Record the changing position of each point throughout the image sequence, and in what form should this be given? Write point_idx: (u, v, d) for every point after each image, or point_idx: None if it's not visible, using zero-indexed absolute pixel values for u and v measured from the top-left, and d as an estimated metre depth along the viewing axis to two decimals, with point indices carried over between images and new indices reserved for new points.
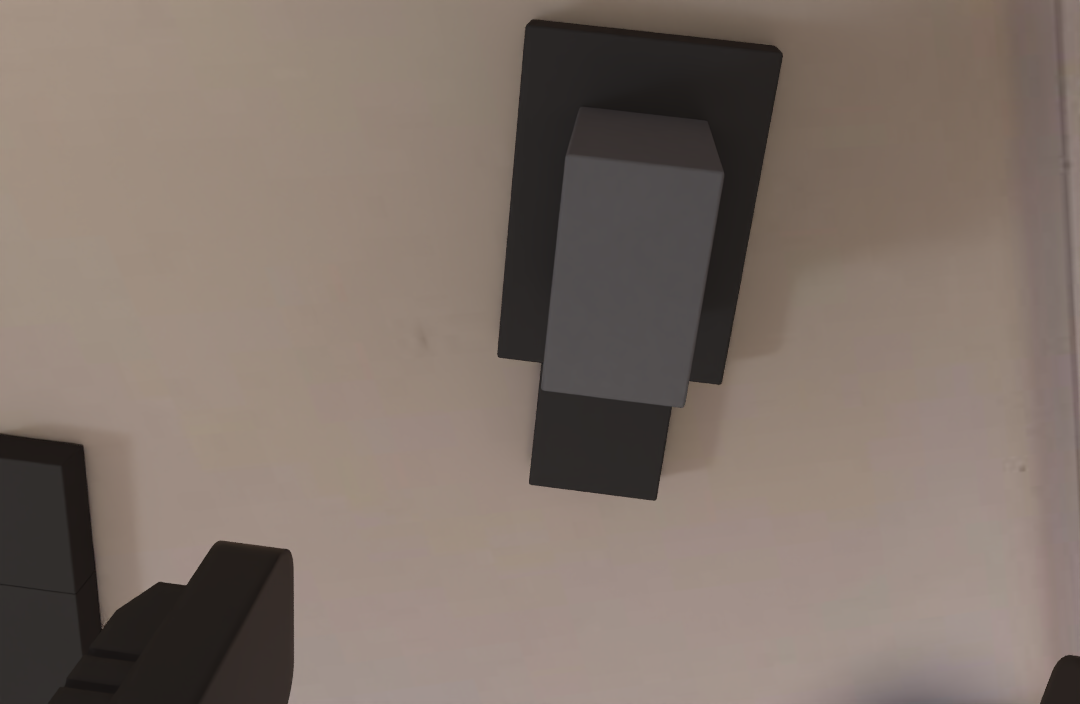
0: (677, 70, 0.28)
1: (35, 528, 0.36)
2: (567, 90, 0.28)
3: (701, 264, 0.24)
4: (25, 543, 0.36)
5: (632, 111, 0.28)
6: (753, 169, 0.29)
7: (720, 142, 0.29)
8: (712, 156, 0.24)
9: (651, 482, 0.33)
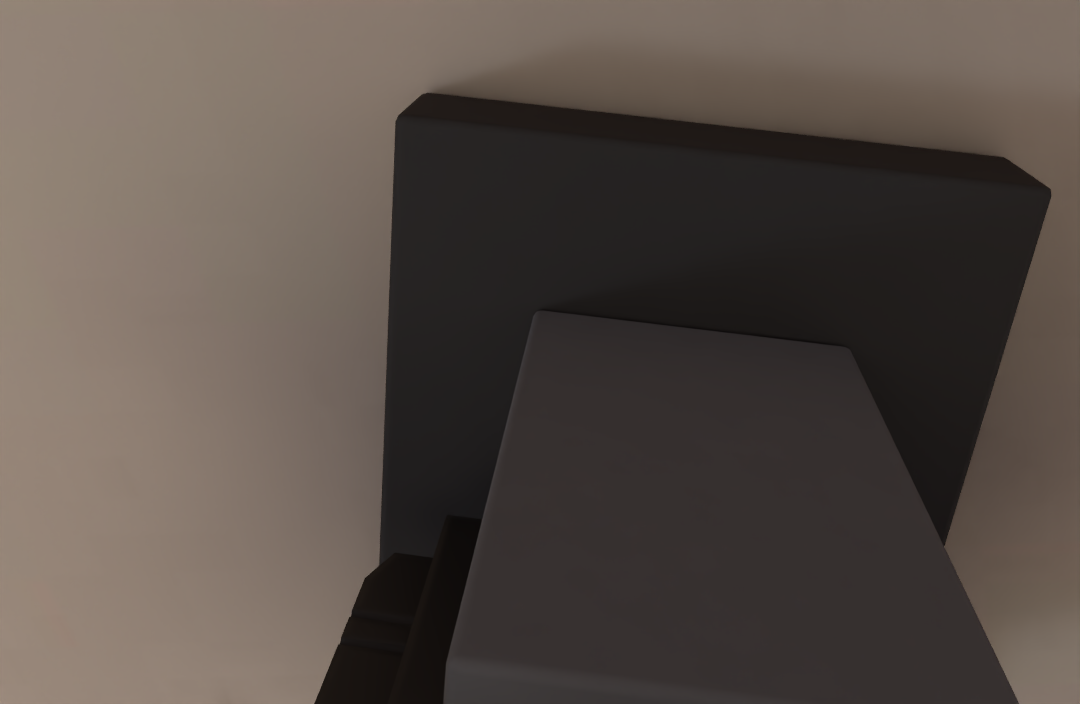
0: (778, 228, 0.11)
1: None
2: (503, 272, 0.12)
3: None
4: None
5: (664, 322, 0.12)
6: (954, 454, 0.12)
7: (878, 395, 0.12)
8: (943, 587, 0.07)
9: None
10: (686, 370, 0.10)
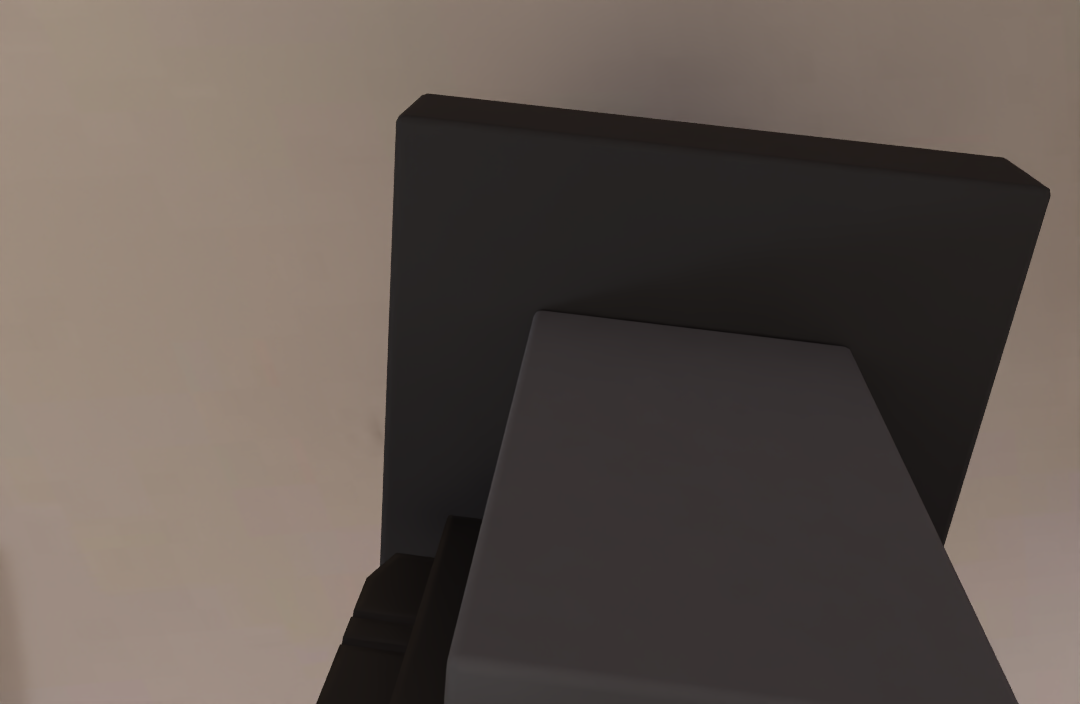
0: (778, 229, 0.11)
1: None
2: (504, 272, 0.12)
3: None
4: None
5: (664, 322, 0.12)
6: (954, 454, 0.12)
7: (877, 395, 0.12)
8: (942, 585, 0.07)
9: None
10: (686, 370, 0.10)
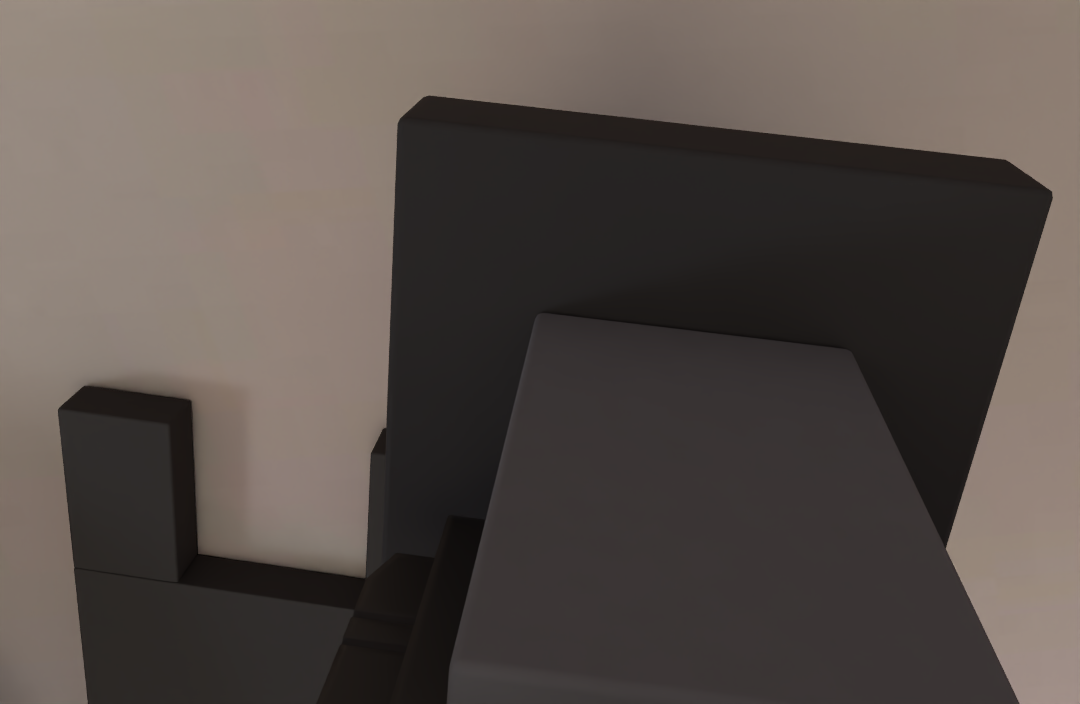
0: (780, 231, 0.11)
1: None
2: (505, 274, 0.12)
3: None
4: None
5: (665, 324, 0.12)
6: (955, 456, 0.12)
7: (879, 397, 0.12)
8: (945, 590, 0.07)
9: None
10: (688, 372, 0.10)
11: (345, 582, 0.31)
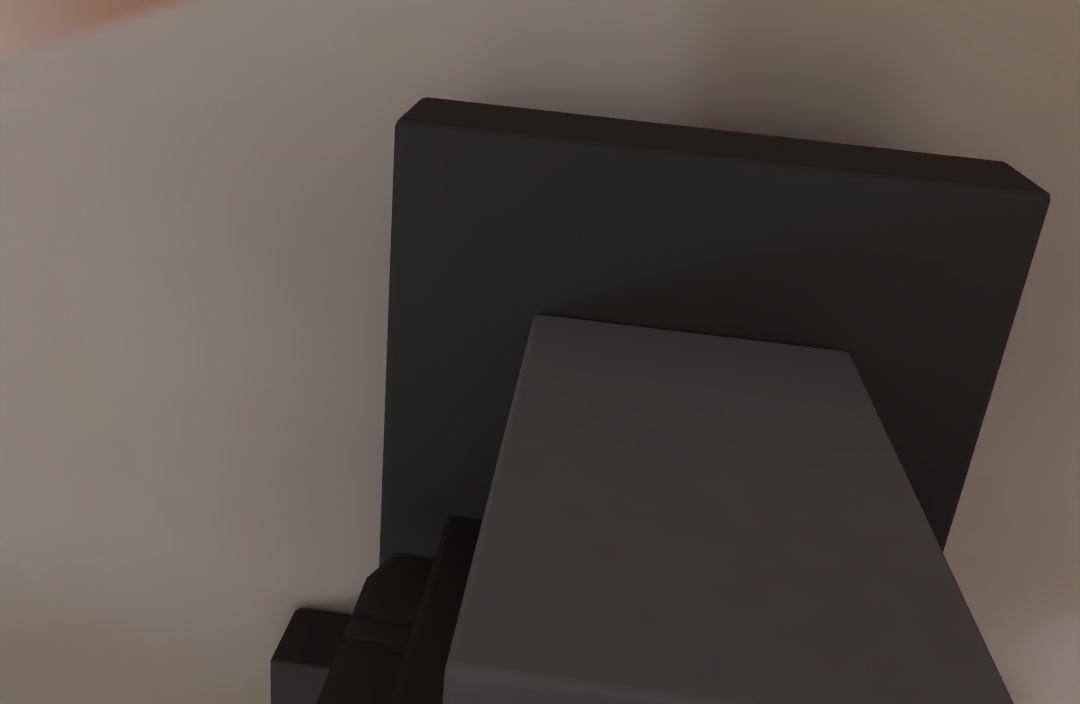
0: (778, 233, 0.11)
1: None
2: (502, 276, 0.12)
3: None
4: None
5: (663, 326, 0.12)
6: (953, 458, 0.12)
7: (877, 399, 0.12)
8: (942, 593, 0.07)
9: None
10: (685, 375, 0.10)
11: None
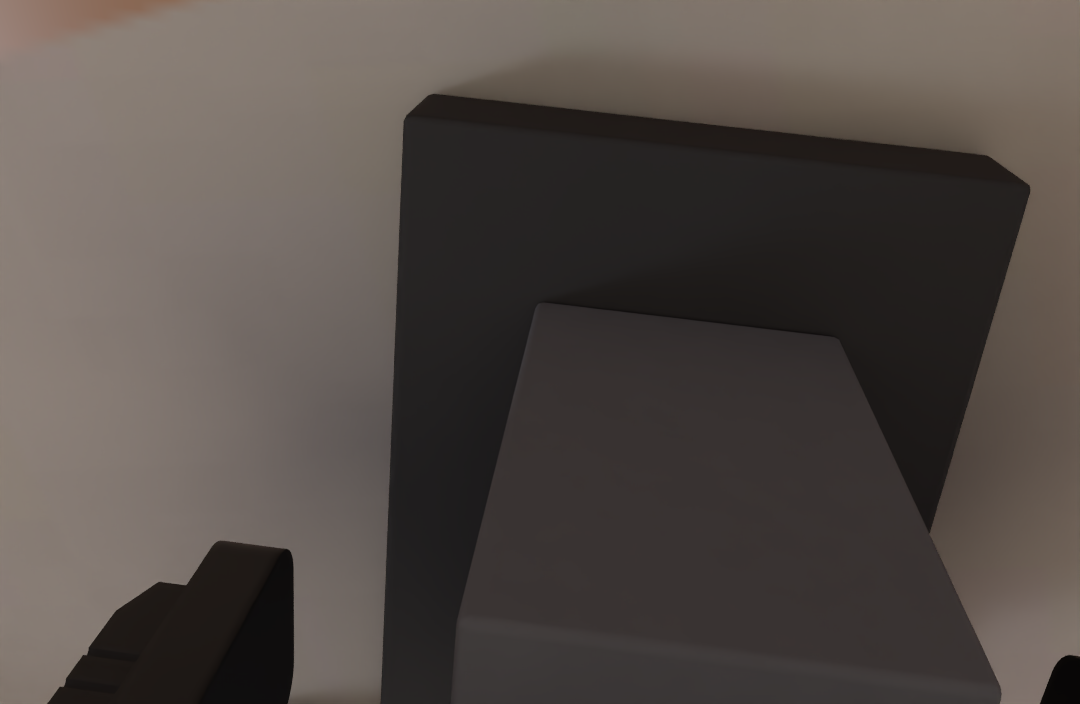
0: (770, 223, 0.12)
1: None
2: (506, 265, 0.12)
3: None
4: None
5: (660, 313, 0.12)
6: (939, 441, 0.12)
7: (866, 383, 0.12)
8: (921, 556, 0.08)
9: None
10: (681, 358, 0.11)
11: None
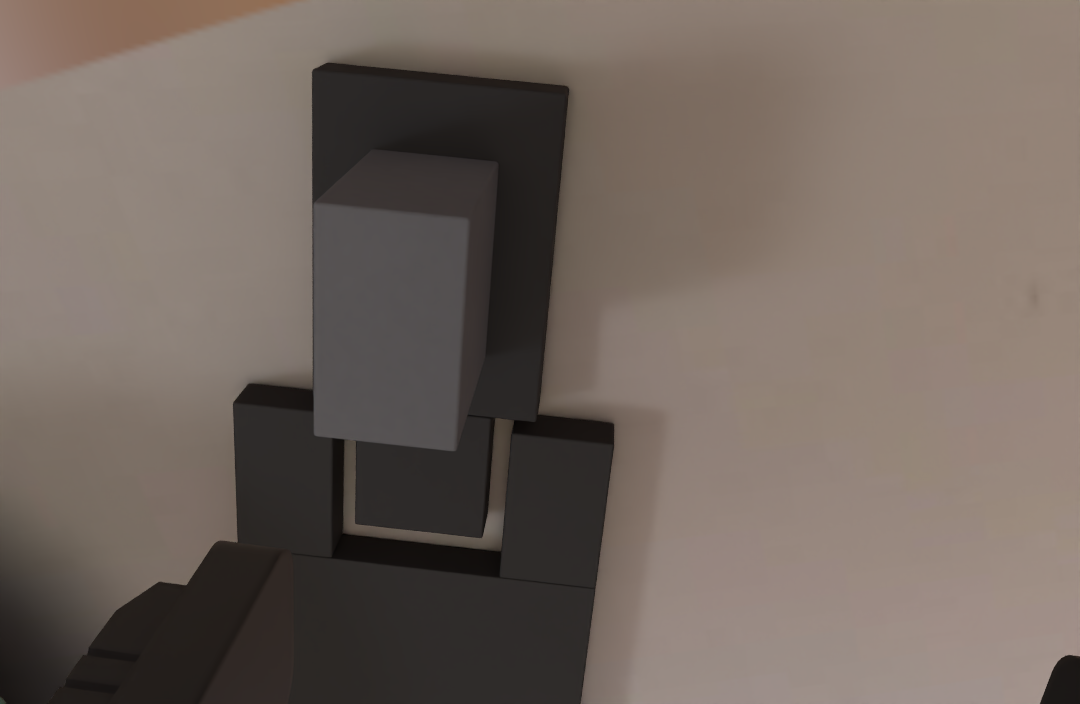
0: (464, 112, 0.28)
1: (566, 515, 0.33)
2: (358, 133, 0.29)
3: (457, 309, 0.24)
4: (551, 532, 0.33)
5: (423, 153, 0.29)
6: (547, 209, 0.29)
7: (512, 182, 0.29)
8: (470, 201, 0.24)
9: (475, 520, 0.33)
10: (423, 163, 0.27)
11: (477, 554, 0.35)
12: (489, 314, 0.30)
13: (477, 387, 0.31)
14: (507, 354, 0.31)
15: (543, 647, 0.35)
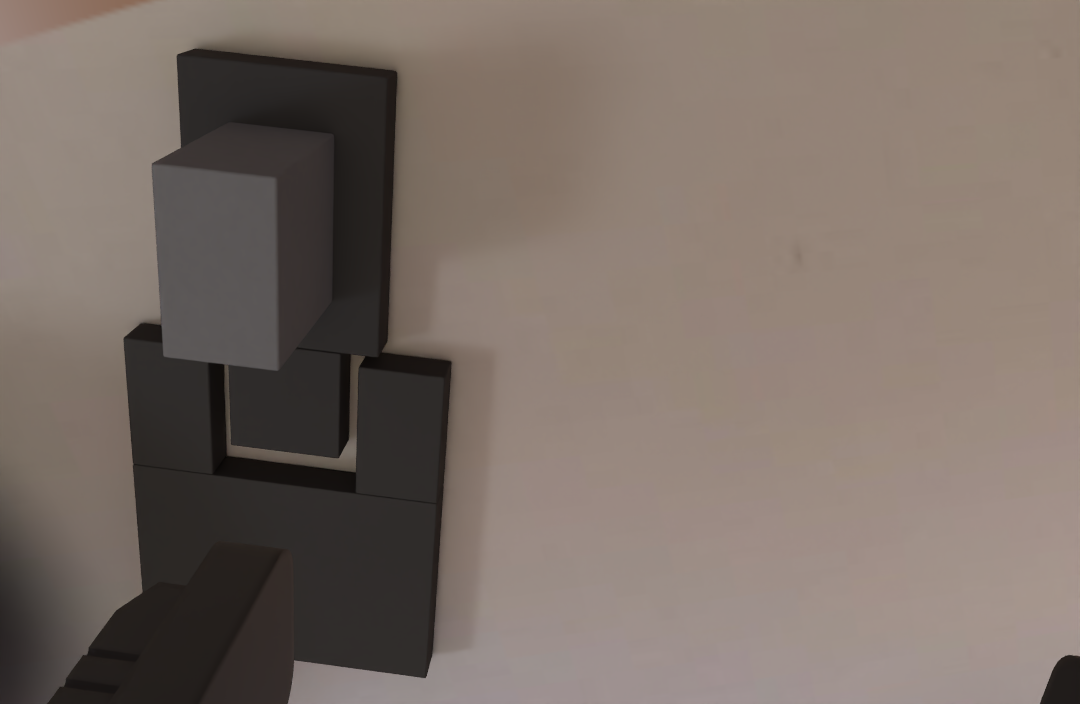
0: (303, 92, 0.33)
1: (409, 439, 0.38)
2: (216, 108, 0.34)
3: (271, 252, 0.29)
4: (396, 454, 0.39)
5: (271, 126, 0.34)
6: (377, 174, 0.34)
7: (347, 151, 0.34)
8: (286, 164, 0.30)
9: (332, 442, 0.39)
10: (265, 134, 0.33)
11: (340, 475, 0.41)
12: (334, 264, 0.36)
13: (327, 327, 0.37)
14: (350, 298, 0.36)
15: (396, 555, 0.41)
